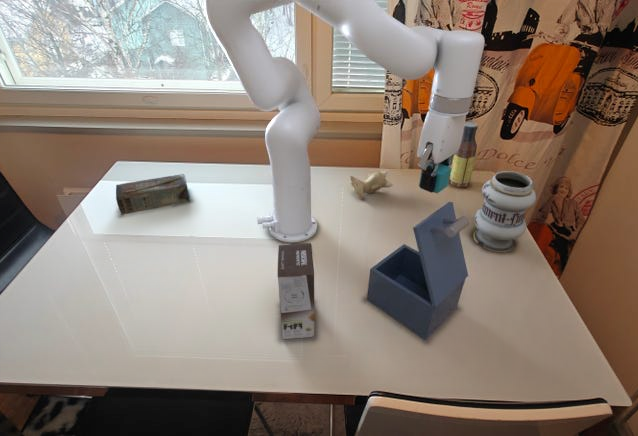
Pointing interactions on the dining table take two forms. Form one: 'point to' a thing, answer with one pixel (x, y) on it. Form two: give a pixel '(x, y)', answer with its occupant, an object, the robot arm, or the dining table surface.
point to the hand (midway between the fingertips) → (433, 184)
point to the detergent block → (440, 177)
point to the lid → (441, 251)
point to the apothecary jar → (503, 210)
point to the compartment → (408, 292)
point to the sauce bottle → (464, 157)
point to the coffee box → (296, 290)
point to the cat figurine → (370, 183)
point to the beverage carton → (152, 193)
